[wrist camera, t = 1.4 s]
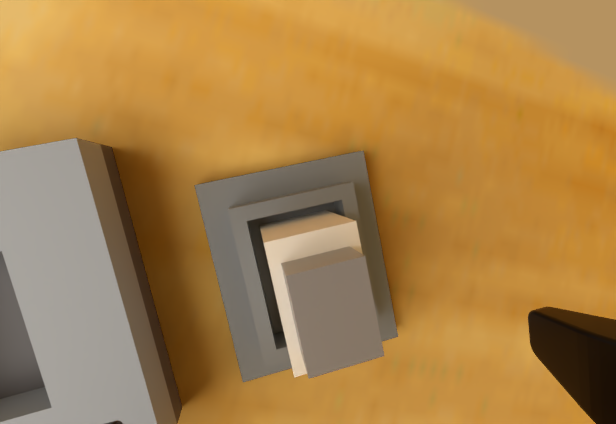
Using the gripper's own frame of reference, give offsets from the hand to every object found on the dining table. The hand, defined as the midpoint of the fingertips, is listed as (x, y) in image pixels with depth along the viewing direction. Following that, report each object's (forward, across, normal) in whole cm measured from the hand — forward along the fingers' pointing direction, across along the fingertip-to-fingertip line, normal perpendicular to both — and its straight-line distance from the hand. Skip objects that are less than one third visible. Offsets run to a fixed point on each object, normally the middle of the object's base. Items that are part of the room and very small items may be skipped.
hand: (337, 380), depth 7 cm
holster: (+14, 0, +2) cm, 14 cm away
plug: (+13, 0, +2) cm, 13 cm away
